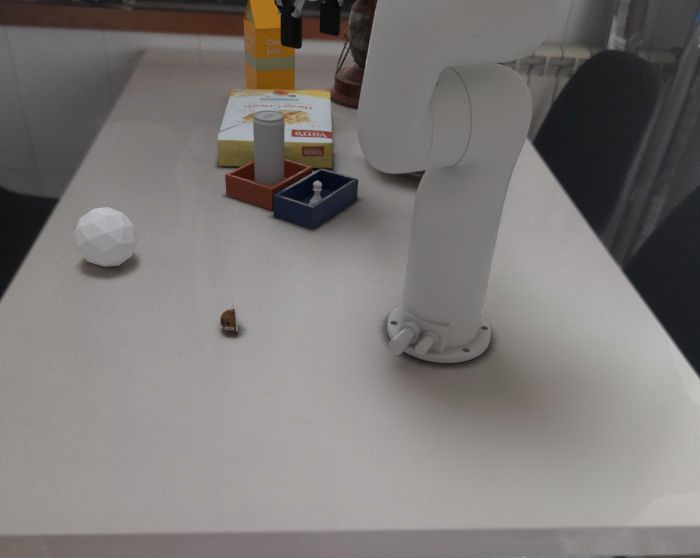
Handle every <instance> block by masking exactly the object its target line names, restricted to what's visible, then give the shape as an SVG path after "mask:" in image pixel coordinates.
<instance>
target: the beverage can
mask: <svg viewBox="0 0 700 558" xmlns="http://www.w3.org/2000/svg"><path fill="white" fill-rule="evenodd" d="M283 117H284V116H283V114H282V113H280V112H278V111H272V110H264V111H258V112H256V113H255V114H254V119H253V132H254V168H255V182H256V183H259V184H262V185H265V186H269V187H273V186H275V185H277V184H278V183H280V182H282V181H284V132H285V121H284V118H283Z"/></svg>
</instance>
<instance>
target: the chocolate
mask: <svg viewBox="0 0 700 558" xmlns="http://www.w3.org/2000/svg"><path fill="white" fill-rule="evenodd" d="M234 306H235V305H234V299H232V301H231V305H230V309H226V310H225V311H223V312H222V314H221V316H220V317H219V324H220V326H221V327H222V329H223V330H225V331H227V332H229V333H234V334H235V333H237V332H238V331H239V327H238V310H237V309H236V308H235V307H234Z"/></svg>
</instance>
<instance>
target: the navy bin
mask: <svg viewBox="0 0 700 558" xmlns="http://www.w3.org/2000/svg"><path fill="white" fill-rule="evenodd" d="M315 181H320V182H321V183H322V187H321V189H322V190H321V191H320V196H321V198H322V199H321V200H320V201H318V202H317V203H315V204H313V205H309V202H310V200H311V199H312V198H313V196H314V193H315V192H314V190H313V188H314V186H313V183H314V182H315ZM358 192H359V178H355V177H352V176H349V175H346V174H342V173H339V172H335V171H332V170H329V169H327V168H318V169H316V170H315V171H312V173H311V174H310V175H308V176H306V177H304V178H303V179H301V180H299V181H297V182H296V183H294V184H292V185H290V186H289V187H287V188H285V189H283V190H282V191H280V192H278V193H276V194H274V195H273V211H272V212H273V217H274V218H277V219H279V220H282V221H284V222H285V221H286V222H288V223H292V224H294V225H297V226H299V227H303V228H306V229H309V230H314V229H316V228H317V227H318V226H319V227H320V225H322V224H323V223H324V222H326V221H328V220H329V219H331V218H332V217H333V216H336V214H339V212H341V211H343V210H344V209H346V208H347V207H349V206H351V205H352V204H353V203H354V202H356V201H358Z"/></svg>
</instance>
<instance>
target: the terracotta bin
mask: <svg viewBox="0 0 700 558" xmlns="http://www.w3.org/2000/svg"><path fill="white" fill-rule="evenodd" d="M311 173H313V168H312V167H310V166H307V165H304V164H300V163H297V162H294V161H290V160H287V159H284V181H282V182H280V183H278V184H277V185H275V186H273V187H269V186H265V185H262V184H259V183H256V182H255V168H254V161H252V162H250V163H247V164H245V165H243V166H238V167H237V168H235V169H234V170H231V171H230V172H228V173H227V172H226V173H225V174H224V178H225V195H226V196H227V197H230V198H233V199H236V200H239V201H241V202H244V203H248V204H251V205H254V206H257V207H260V208H263V209H266V210H268V211H272V212H274V211H273V195H274V194H276V193H278V192H280V191H282V190H283V189H285V188H287V187H289V186H290V185H292V184H294V183H296V182H297V181H299V180H301V179H303V178H304V177H306V176H308V175H310V174H311Z"/></svg>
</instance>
